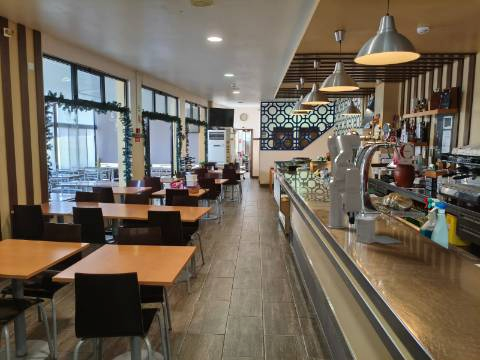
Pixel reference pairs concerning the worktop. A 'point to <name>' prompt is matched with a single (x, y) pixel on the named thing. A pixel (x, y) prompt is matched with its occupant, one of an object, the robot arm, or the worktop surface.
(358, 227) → the small box
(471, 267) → the worktop surface
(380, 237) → the mat
